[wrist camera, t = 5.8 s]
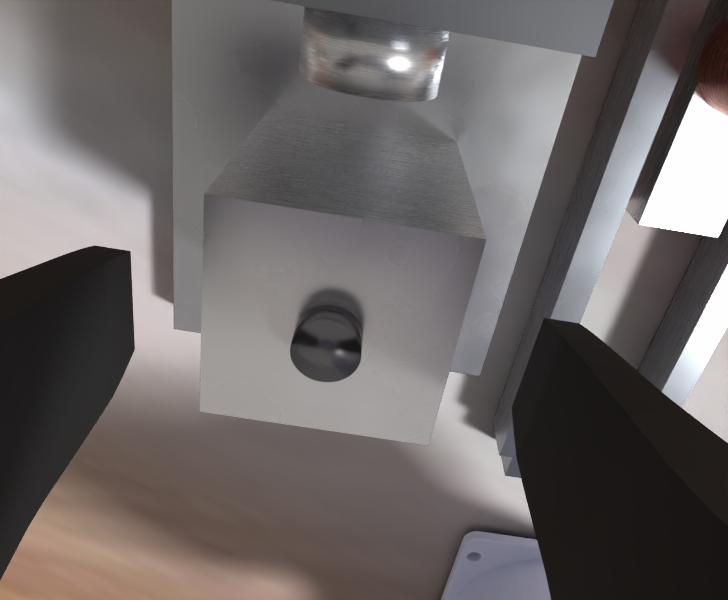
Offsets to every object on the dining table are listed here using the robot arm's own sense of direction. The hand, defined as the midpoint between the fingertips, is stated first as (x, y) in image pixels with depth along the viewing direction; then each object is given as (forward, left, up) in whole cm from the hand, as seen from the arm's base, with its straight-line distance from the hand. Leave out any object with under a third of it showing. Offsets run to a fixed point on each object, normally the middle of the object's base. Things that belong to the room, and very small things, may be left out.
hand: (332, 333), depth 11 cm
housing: (0, 0, -6) cm, 6 cm away
